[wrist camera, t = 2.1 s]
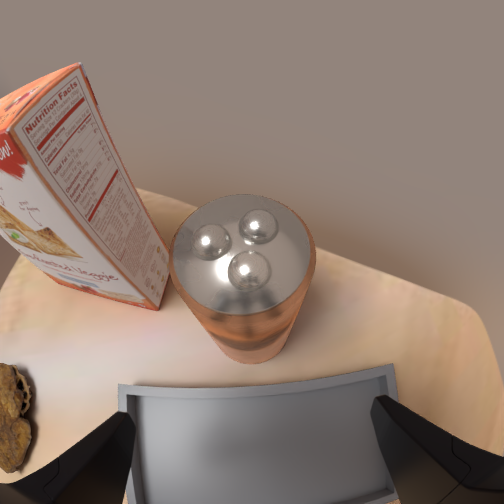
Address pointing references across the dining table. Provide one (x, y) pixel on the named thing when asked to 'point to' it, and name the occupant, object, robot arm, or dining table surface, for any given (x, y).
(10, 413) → the decorative rock
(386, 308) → the dining table surface
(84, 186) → the cracker box
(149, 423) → the gray tray
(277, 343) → the copper cylinder
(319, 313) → the dining table surface
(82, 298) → the dining table surface
